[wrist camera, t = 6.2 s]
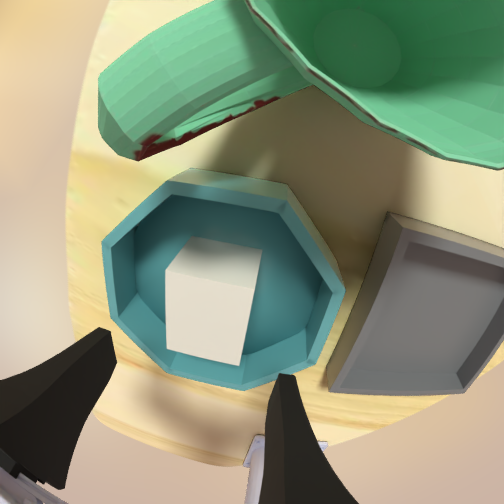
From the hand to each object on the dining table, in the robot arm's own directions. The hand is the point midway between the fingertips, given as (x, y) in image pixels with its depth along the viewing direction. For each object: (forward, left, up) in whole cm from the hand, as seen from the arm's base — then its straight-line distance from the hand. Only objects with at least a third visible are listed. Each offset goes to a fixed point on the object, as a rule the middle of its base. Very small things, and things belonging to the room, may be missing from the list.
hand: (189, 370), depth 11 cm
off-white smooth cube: (0, 0, -7) cm, 7 cm away
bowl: (0, 0, -8) cm, 8 cm away
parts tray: (0, -15, -8) cm, 17 cm away
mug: (+13, -3, -8) cm, 15 cm away
